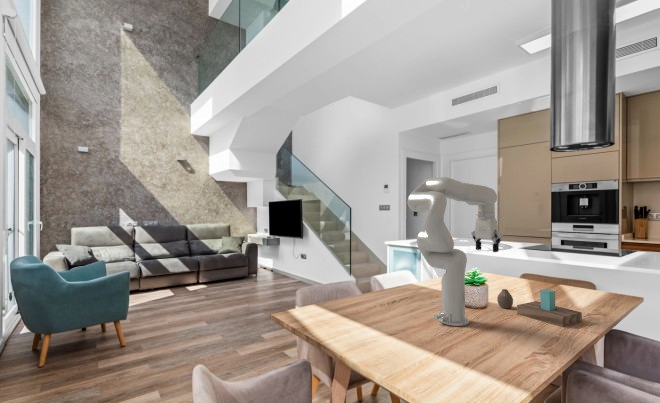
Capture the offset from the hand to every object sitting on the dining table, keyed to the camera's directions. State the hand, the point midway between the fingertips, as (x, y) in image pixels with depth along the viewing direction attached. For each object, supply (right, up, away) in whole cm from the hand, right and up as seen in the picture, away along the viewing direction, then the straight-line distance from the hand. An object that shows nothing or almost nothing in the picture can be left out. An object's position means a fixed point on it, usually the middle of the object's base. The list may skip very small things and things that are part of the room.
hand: (486, 250), depth 166 cm
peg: (+21, -28, -13) cm, 38 cm away
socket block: (+21, -28, -13) cm, 38 cm away
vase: (+10, -29, +2) cm, 30 cm away
